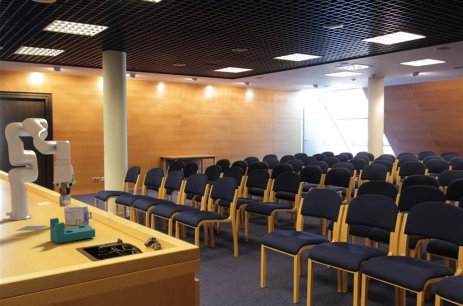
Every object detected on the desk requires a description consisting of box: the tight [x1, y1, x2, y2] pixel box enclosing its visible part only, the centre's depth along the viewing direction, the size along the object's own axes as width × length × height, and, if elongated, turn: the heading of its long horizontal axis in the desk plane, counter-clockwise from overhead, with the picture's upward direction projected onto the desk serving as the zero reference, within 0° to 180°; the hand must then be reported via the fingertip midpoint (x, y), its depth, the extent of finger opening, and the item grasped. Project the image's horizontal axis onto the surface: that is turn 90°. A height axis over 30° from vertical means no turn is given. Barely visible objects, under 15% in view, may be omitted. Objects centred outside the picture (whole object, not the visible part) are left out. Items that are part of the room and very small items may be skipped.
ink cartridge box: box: [63, 206, 93, 226], centre depth 246 cm, size 10×6×14 cm
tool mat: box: [15, 225, 47, 232], centre depth 237 cm, size 12×12×1 cm
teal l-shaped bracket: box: [49, 217, 96, 244], centre depth 209 cm, size 18×11×10 cm, turn 127°
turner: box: [58, 183, 72, 208], centre depth 247 cm, size 3×8×13 cm, turn 177°
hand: (65, 194), depth 248 cm, fingers closed on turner, 3 cm apart
